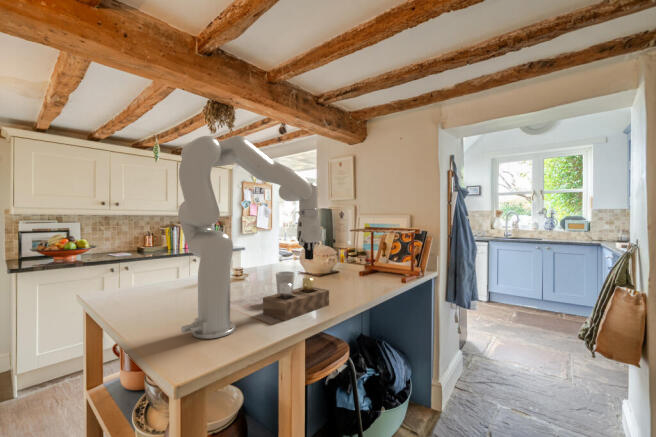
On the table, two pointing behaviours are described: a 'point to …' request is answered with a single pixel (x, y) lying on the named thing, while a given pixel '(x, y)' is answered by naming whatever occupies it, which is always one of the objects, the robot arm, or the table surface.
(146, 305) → the table surface
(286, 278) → the cup
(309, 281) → the brass peg
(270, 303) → the walnut block
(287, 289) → the steel peg
